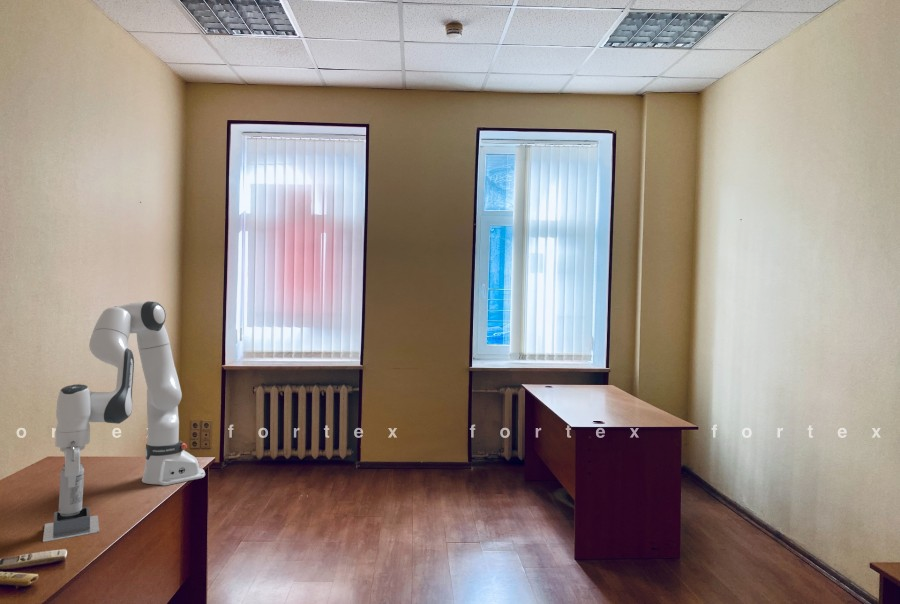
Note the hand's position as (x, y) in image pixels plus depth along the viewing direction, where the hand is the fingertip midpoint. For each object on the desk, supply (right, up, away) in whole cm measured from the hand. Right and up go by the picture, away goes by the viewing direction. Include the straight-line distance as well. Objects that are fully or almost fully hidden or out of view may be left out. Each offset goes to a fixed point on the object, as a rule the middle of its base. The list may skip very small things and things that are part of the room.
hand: (71, 483), depth 175 cm
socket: (0, -15, 0) cm, 15 cm away
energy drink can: (0, -10, 0) cm, 10 cm away
